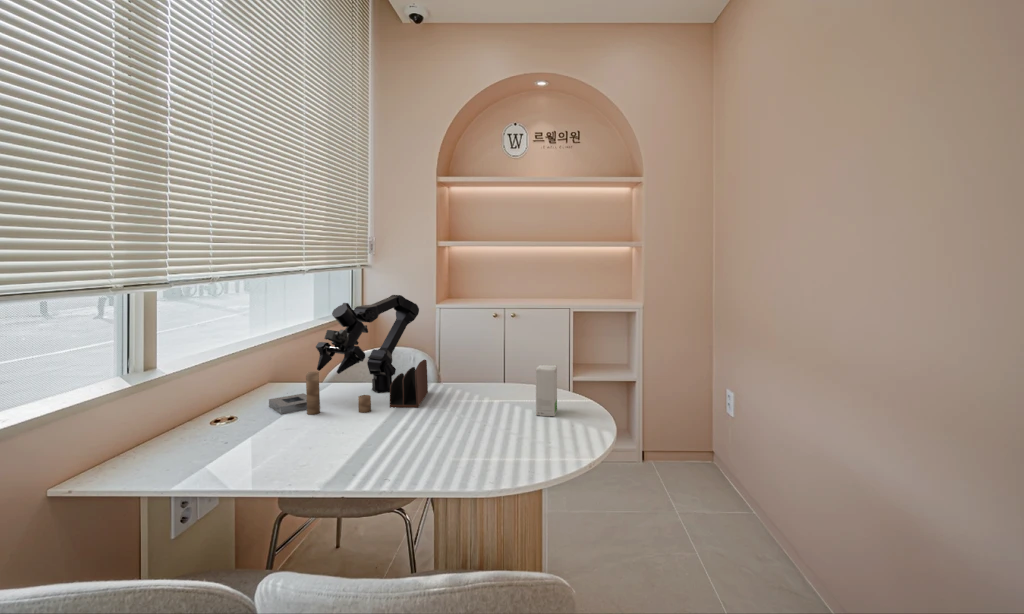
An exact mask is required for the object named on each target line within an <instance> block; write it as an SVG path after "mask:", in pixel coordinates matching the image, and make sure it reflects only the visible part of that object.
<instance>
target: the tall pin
mask: <svg viewBox="0 0 1024 614" xmlns="http://www.w3.org/2000/svg"><path fill="white" fill-rule="evenodd" d="M305 384H306V385H305V388H306V390H305V391H306V393H305V394H306V395H307V410H306V414H307V415H310V416H315V415H319V414H320V413H321V402H320V401H321V399H320V398H321V397H320V394H321V393H320V371H308V372H305Z"/></svg>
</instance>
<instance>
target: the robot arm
mask: <svg viewBox="0 0 1024 614" xmlns="http://www.w3.org/2000/svg"><path fill="white" fill-rule="evenodd" d="M392 309H394V311H395V320H394V322H393V324H392V326H391V328H390V329H389V332H388V334H387V335H386V337H385V339H384V340H383V343H381V346H380V348H378V349H374V348H373V349H372V351H371V353H370V354H369V356H368V357H367V359H368V360H367V362H366V364H367V369H368V371H369V375H372V377H373V378H372V382H371V383H372V384H371V385H372V386H371V387H372V388H371V390H372V391H374V392H376V393H386V392H390V385H391V383H392V382H393V376H394V375H396V372H397V369H396V368H395V366H394V365H393V364H392V363H393V353H394V350H395V349H396V347H397V346H398V343H399V342H400V340H401V338H402V336H403V334H404V332H405V330H406V328H407V326H408V325H409V324H411V323H412V322H414V320H415V319H416V318H417V317H418V315H419V312H420V308H419V306H418V304H417V303H415V302H413V301H411V300H409V299H407V298H405V296H403V295H400V294H392V295H390V296H388V297H385V298H384V299H382V300H379V301H376V302H375V303H372V304H363V305H358V306H355V308H354V309H353V308H352V307H351V305H350V303H348V302H343V303H342V304H339V306H337V307H335V308H333V311H332V312H331V315H332V317H333V319H335V320H336V321H337V323H338V324H339V325H340V327H342V328H345V329H340V330H333V329H327V330H326V333H325V335H324V340H328V341H331V344H332V345H333V346H332V345H331V344H330V343H329V342H323V341H318V342H317V344H316V346H315V348H316V350H317V351H318V353H319V356H318V357H319V358H318V362H317V367H316V370H317V372H320V371H321V370H322V369H323V368H324V367H325V366H326V365H328V364H329V363H330V361H332V360H333V357H334V356H335V355H336V354H338V355H344V356H343V359H342V361H341V363H340V364H339V366H338V367H337V370H336V374H337V375H338V374H339V375H340V374H341V373H343V372H344V371H346V370H347V369H349V368H351V367H353V366H354V365H356V364H359V363H360V362H364V360H365V359H366V352H364V351H363V349H362V348H361V347H360V346H359V341H358V340H359V339H360V338H361V335H362V333H363V334H364V333H365V334H368V333H369V328H368V325H365V324H364V323H369V324H370V323H373V322H374V321H375V320H378V318H379V316H380V315H381V314H382V313H383V314H384V313H386V312H387V311H389V310H392Z"/></svg>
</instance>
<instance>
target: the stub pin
mask: <svg viewBox="0 0 1024 614" xmlns="http://www.w3.org/2000/svg"><path fill="white" fill-rule="evenodd" d="M371 397H372V396H371V395H369V394H363V395H362V394H361V395H359V396H358V398H357V401H358V403H357V404H358V413H360V414H367V413H371V411H372V406H371V405H372V398H371Z"/></svg>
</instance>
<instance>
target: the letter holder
mask: <svg viewBox="0 0 1024 614" xmlns="http://www.w3.org/2000/svg"><path fill="white" fill-rule="evenodd" d="M428 393H429V383H428V361H427V360H426V359H423V360H421V361H420V362H419V363H418V364H417V366H416V367H415V366H413V367H412V366H411V367H410V368H409V369H408V370H406V372H405V373H403V372H401V373H399V374H398V375H397V376H395V378H394V379H392V383H391V385H390V391H389V408H391V407H393V408H395V407H396V408H401V409H402V408H403V409H404V408H406V409H407V408H409V409H412V408H413V409H416V408H417V409H418V408H419V406H420V405H421V404H422V403H423V401H424V400H425V398H426V396H427V395H428Z"/></svg>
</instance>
